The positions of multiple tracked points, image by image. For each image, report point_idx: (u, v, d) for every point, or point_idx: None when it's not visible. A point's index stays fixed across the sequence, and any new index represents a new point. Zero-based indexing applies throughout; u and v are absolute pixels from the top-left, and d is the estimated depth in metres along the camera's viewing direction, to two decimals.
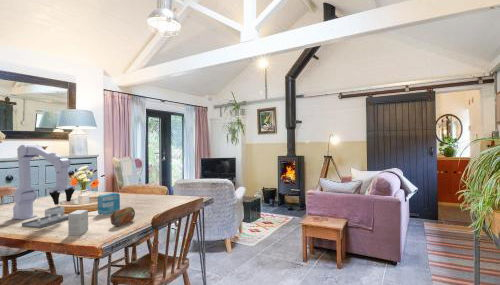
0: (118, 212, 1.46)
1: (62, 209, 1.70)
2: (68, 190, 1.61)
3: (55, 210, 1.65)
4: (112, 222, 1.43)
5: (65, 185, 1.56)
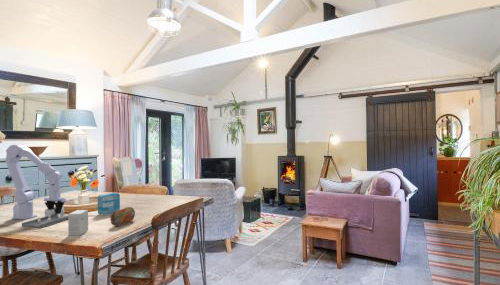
0: (118, 212, 1.46)
1: (62, 209, 1.70)
2: None
3: (55, 210, 1.65)
4: (112, 222, 1.43)
5: (49, 197, 1.65)
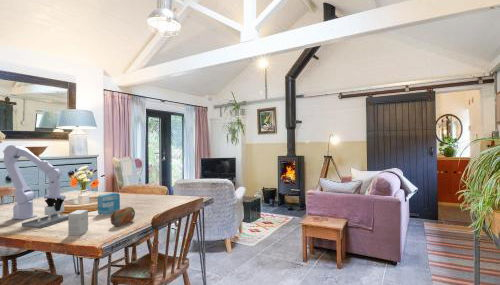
0: (118, 212, 1.46)
1: (62, 206, 1.70)
2: None
3: None
4: (112, 222, 1.43)
5: (49, 194, 1.65)
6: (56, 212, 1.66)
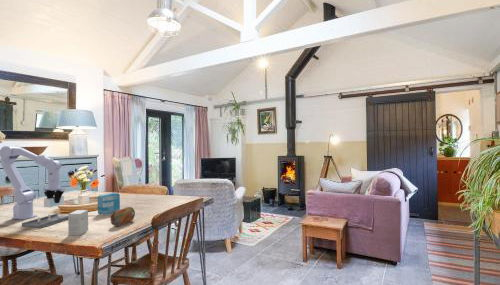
0: (118, 212, 1.46)
1: (61, 198, 1.68)
2: None
3: (54, 199, 1.64)
4: (112, 222, 1.43)
5: (49, 186, 1.63)
6: (55, 204, 1.64)
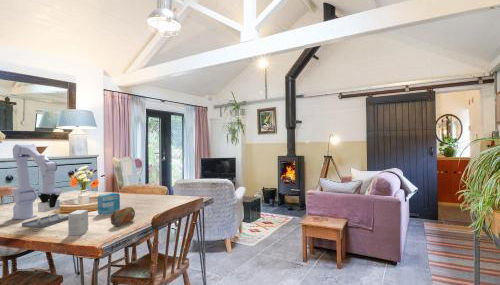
0: (118, 212, 1.46)
1: (57, 202, 1.57)
2: None
3: (49, 203, 1.52)
4: (112, 222, 1.43)
5: (43, 189, 1.52)
6: (51, 209, 1.53)
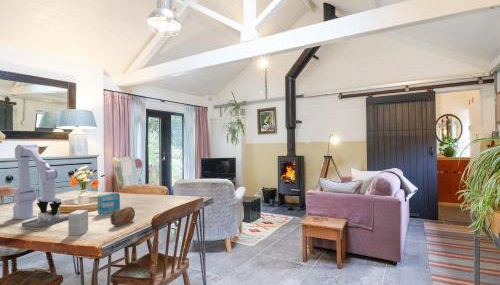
0: (118, 212, 1.46)
1: (57, 212, 1.57)
2: None
3: (49, 213, 1.52)
4: (112, 222, 1.43)
5: (43, 197, 1.52)
6: (51, 219, 1.53)
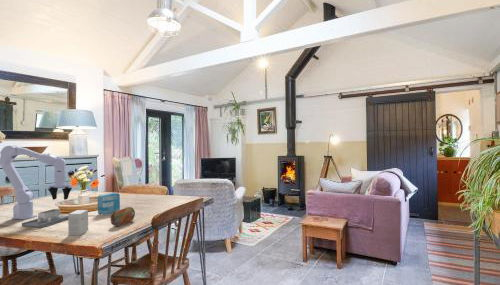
0: (118, 212, 1.46)
1: (57, 212, 1.57)
2: None
3: (49, 213, 1.52)
4: (112, 222, 1.43)
5: (55, 183, 1.68)
6: (51, 219, 1.53)
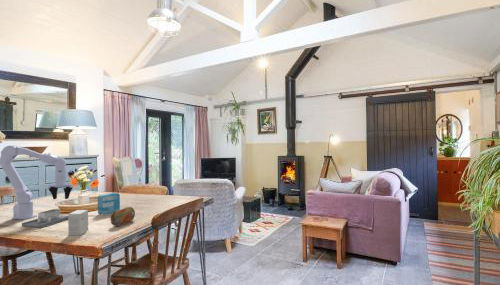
0: (118, 212, 1.46)
1: (57, 212, 1.57)
2: None
3: (49, 213, 1.52)
4: (112, 222, 1.43)
5: (56, 183, 1.69)
6: (51, 219, 1.53)
